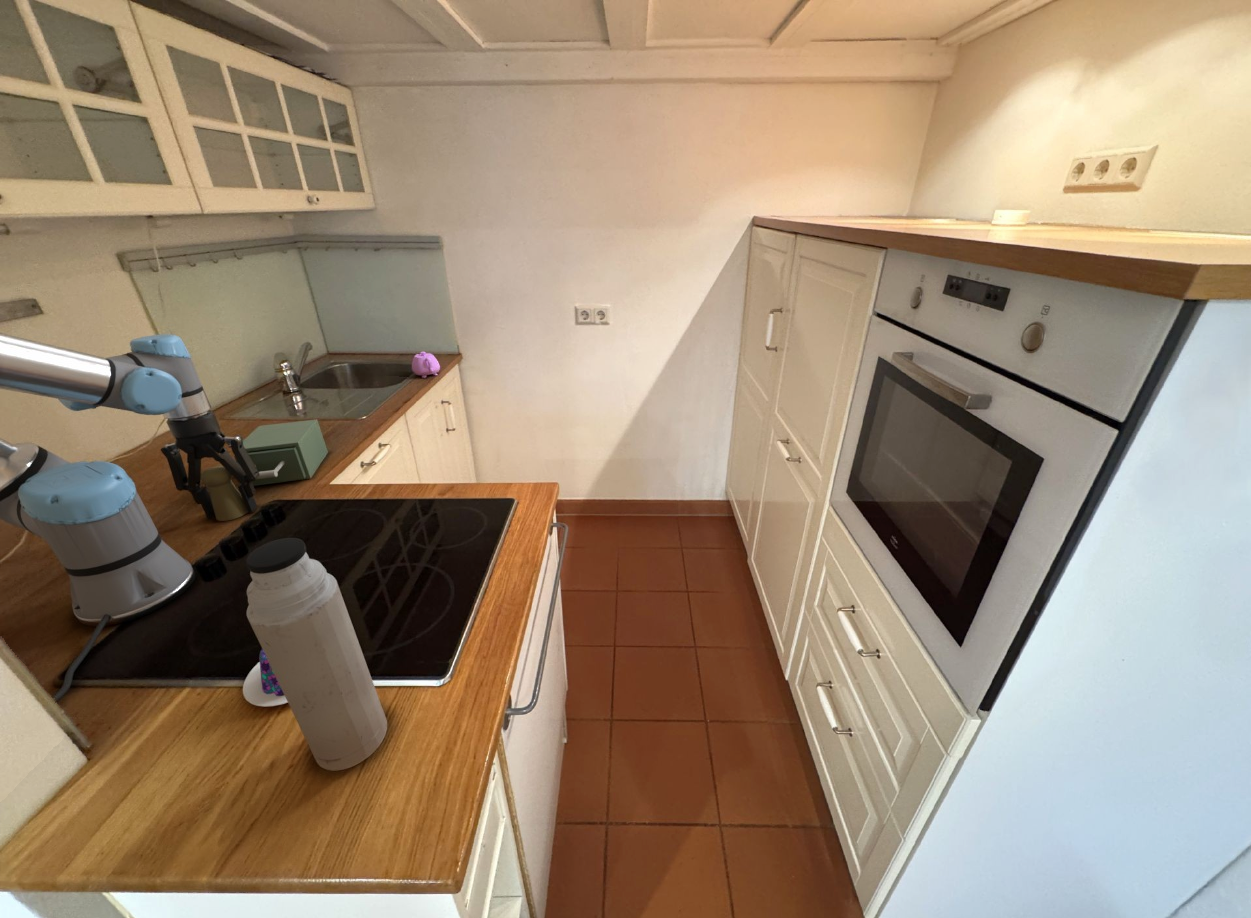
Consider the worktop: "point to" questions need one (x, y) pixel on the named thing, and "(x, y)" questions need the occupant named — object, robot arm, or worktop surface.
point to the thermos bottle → (314, 653)
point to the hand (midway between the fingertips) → (232, 512)
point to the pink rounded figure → (425, 364)
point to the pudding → (263, 685)
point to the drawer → (277, 465)
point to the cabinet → (291, 442)
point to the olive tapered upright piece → (223, 494)
